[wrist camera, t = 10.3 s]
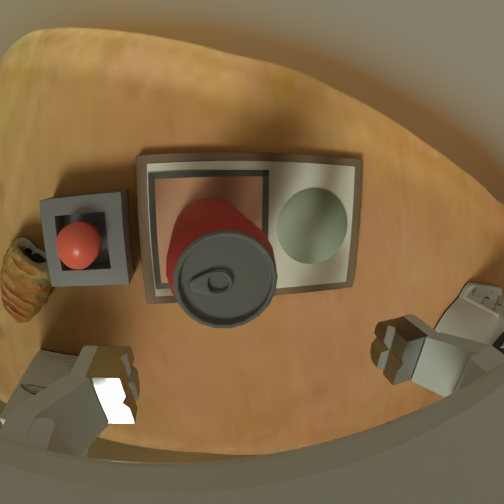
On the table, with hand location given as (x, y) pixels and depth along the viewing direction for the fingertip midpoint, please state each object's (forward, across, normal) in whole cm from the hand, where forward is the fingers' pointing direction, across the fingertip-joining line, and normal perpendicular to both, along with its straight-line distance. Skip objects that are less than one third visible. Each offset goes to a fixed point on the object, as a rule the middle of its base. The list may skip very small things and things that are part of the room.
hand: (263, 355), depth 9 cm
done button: (+17, +12, 0) cm, 21 cm away
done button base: (+20, +12, 0) cm, 23 cm away
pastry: (+20, +20, +4) cm, 29 cm away
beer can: (+19, +1, 0) cm, 19 cm away
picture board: (+20, -4, 0) cm, 20 cm away
